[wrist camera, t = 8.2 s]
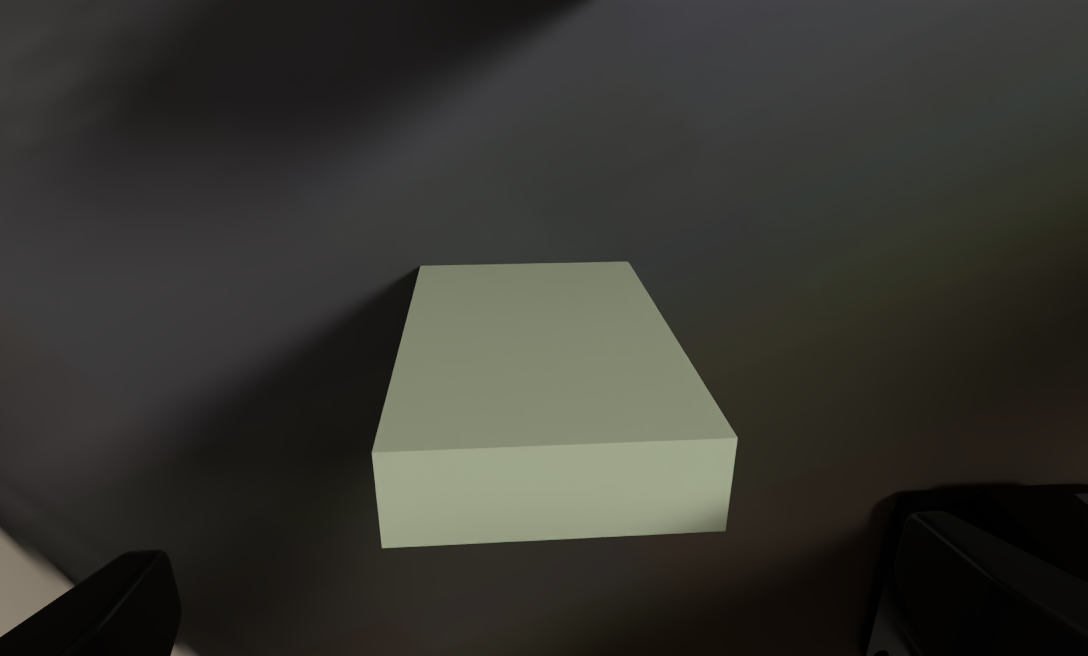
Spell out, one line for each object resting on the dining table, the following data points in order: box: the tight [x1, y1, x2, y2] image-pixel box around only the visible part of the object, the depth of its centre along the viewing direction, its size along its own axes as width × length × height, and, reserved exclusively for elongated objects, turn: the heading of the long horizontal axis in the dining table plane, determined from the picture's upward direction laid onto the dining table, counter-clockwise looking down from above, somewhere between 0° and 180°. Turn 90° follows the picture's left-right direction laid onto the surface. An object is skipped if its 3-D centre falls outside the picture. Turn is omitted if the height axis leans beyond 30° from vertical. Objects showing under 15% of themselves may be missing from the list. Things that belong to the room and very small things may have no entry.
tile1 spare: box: [372, 262, 738, 548], centre depth 14 cm, size 2×5×8 cm, turn 90°
